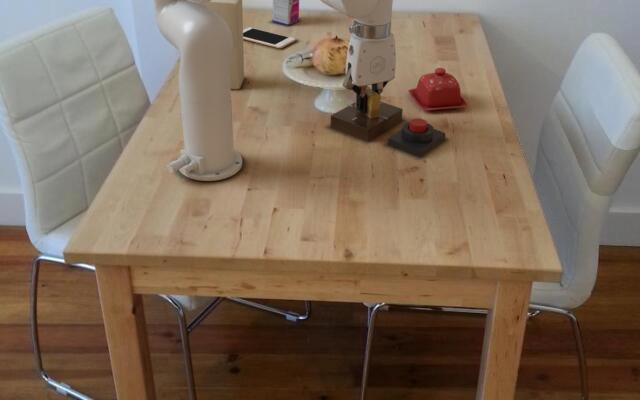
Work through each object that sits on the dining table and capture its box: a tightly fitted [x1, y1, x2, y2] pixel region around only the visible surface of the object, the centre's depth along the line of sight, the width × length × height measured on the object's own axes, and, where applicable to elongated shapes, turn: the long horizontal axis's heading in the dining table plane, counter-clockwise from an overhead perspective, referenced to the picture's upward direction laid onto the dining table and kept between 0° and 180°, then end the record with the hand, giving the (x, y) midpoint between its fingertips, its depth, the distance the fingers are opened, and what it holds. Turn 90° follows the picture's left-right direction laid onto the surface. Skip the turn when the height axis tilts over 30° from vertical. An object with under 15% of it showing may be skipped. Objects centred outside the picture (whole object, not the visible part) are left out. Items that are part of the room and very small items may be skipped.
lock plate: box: [330, 100, 404, 143], centre depth 163 cm, size 13×11×3 cm
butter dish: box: [407, 67, 468, 111], centre depth 172 cm, size 12×12×8 cm
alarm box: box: [387, 121, 447, 158], centre depth 156 cm, size 10×8×4 cm
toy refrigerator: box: [204, 0, 245, 90], centre depth 175 cm, size 8×7×21 cm
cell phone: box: [243, 26, 297, 49], centre depth 206 cm, size 8×16×1 cm, turn 58°
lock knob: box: [355, 85, 382, 119], centre depth 161 cm, size 6×2×5 cm, turn 29°
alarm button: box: [409, 117, 428, 133], centre depth 155 cm, size 4×4×2 cm
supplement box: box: [272, 0, 300, 27], centre depth 216 cm, size 6×6×12 cm
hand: (367, 109), depth 162 cm, fingers closed on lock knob, 2 cm apart
